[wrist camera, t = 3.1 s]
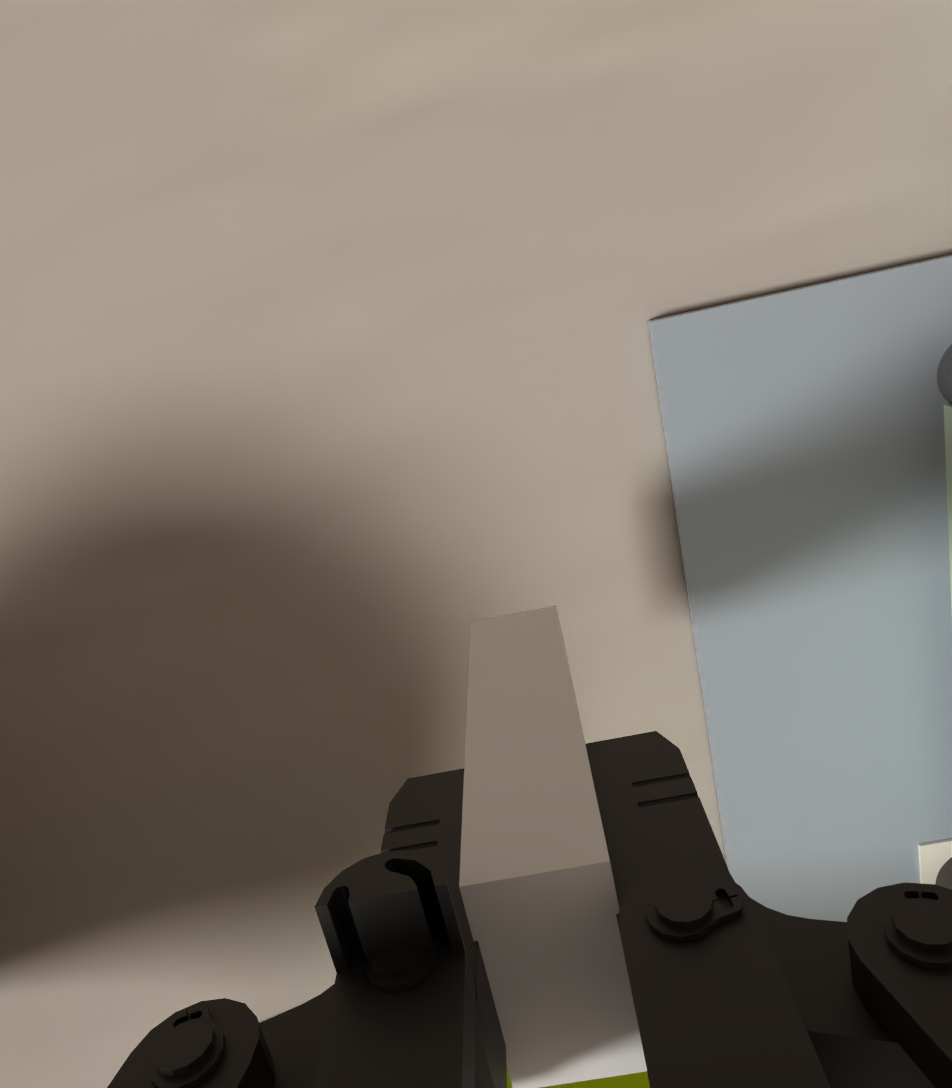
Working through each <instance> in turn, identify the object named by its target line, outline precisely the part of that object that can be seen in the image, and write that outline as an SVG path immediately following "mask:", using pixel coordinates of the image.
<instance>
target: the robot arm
mask: <svg viewBox="0 0 952 1088" xmlns="http://www.w3.org/2000/svg"><path fill="white" fill-rule="evenodd" d="M385 833H386V834H384V837H383V843H382V848H381V852H382V853H381V854H377V855H374V856H371V857H367V858H364V859H362V860H361V861H359V862H357V863H355V864H354V865H352V866H350V867H348V868H347V869H345V870H343V871H342V872H341V873H340V874H339V875H338V876H336V877H335V878H334V879H333V880H332V881H331V882H330V883H329V884H328V885H327V886H326V887H325V888H324V890H323V892H322V894H321V896H320V898H319V900H318V902H317V904H316V906H315V909H316V912H317V915H318V918H319V921H320V924H321V927H322V930H323V933H324V936H325V939H326V942H327V945H328V948H329V951H330V954H331V957H332V960H333V963H334V966H335V969H336V972H337V975H336V980H335V984H334V985H332V986H331V987H330V988H328V989H327V990H326V991H325V992H323V993H322V994H321V995H319V996H317V997H315V998H313V999H311V1000H309V1001H308V1002H306V1003H304V1004H302V1005H300V1006H297V1007H295V1008H293V1009H291V1010H288V1011H286V1012H284V1013H282V1014H279V1015H277V1016H275V1017H272V1018H270V1019H268V1020H266V1021H263V1022H261V1023H259V1022H258V1019H257V1017H256V1016H255V1014H254V1013H253V1012H252V1011H251V1010H250V1009H249V1008H248V1007H247V1006H246V1004H245V1003H241V1002H237V1001H233V1000H230V999H226V998H224V999H216V1000H209V1001H201V1002H199V1003H197V1004H194V1005H192V1006H190V1007H187V1008H185V1009H183V1010H180V1011H178V1012H175V1013H174V1014H173V1015H171V1016H170V1017H169V1018H167V1019H166V1020H164V1021H163V1022H162V1023H160V1024H159V1025H158V1026H156V1027H155V1028H153V1029H152V1030H151V1031H150V1032H149V1033H148V1034H147V1035H146V1037H145V1038H144V1039H143V1040H142V1041H141V1042H140V1043H139V1045H138V1046H137V1047H136V1048H135V1049H134V1050H133V1051H132V1052H131V1054H130V1055H129V1057H128V1058H127V1060H126V1061H125V1063H124V1064H123V1065H122V1067H121V1068H120V1070H119V1071H118V1073H117V1074H116V1076H115V1077H114V1079H113V1080H112V1082H111V1083H110V1084H109V1086H108V1087H107V1088H507V1068H508V1072H509V1076H510V1079H511V1083H512V1087H513V1088H540V1087H546V1086H553V1085H560V1084H566V1083H573V1082H580V1081H586V1080H593V1079H599V1078H606V1077H613V1076H619V1075H626V1074H632V1073H639V1072H646V1071H647V1072H648V1077H649V1082H650V1087H651V1088H952V890H951V889H948V888H945V887H942V886H939V885H935V884H921V883H907V882H904V883H899V884H894V885H889V886H884V887H879V888H876V889H875V890H873V891H871V892H870V893H868V894H866V895H865V896H863V897H861V898H860V899H858V900H857V902H856V903H855V905H854V907H853V908H852V910H851V912H850V913H849V915H848V917H847V922H840V921H829V920H818V919H808V918H802V917H797V916H791V915H786V914H783V913H781V912H778V911H775V910H772V909H769V908H767V907H765V906H763V905H762V904H760V903H758V902H757V901H755V900H753V899H752V898H750V897H749V896H748V895H747V894H746V893H745V891H744V890H743V888H742V887H741V886H740V885H738V884H736V883H735V881H734V879H733V878H732V876H731V874H730V873H729V870H728V868H727V865H726V863H725V860H724V858H723V855H722V853H721V850H720V848H719V845H718V843H717V840H716V838H715V836H714V833H713V831H712V828H711V826H710V823H709V821H708V818H707V816H706V813H705V811H704V808H703V806H702V803H701V801H700V799H699V797H698V795H697V791H696V789H695V786H694V784H693V781H692V779H691V777H690V775H689V771H688V769H687V766H686V764H685V761H684V759H683V757H682V754H681V752H680V749H679V748H678V747H676V746H675V745H674V744H672V743H671V742H670V741H669V740H667V739H666V738H665V737H663V736H662V735H661V734H659V733H658V732H657V731H654V732H648V733H643V734H637V735H632V736H626V737H621V738H615V739H610V740H604V741H599V742H593V743H588V744H585V740H584V736H583V731H582V726H581V721H580V717H579V712H578V707H577V702H576V698H575V693H574V688H573V683H572V679H571V674H570V669H569V664H568V660H567V655H566V650H565V645H564V641H563V636H562V631H561V626H560V622H559V617H558V612H557V607H556V606H552V607H546V608H541V609H536V610H531V611H526V612H521V613H516V614H510V615H505V616H500V617H495V618H490V619H485V620H480V621H474V622H470V645H469V669H468V692H467V715H466V739H465V762H464V769H459V770H453V771H448V772H442V773H437V774H431V775H426V776H420V777H415V778H409V779H407V781H406V782H405V783H404V785H403V786H402V787H401V789H400V790H399V791H398V793H397V794H396V795H395V797H394V798H393V799H392V801H391V802H390V804H389V809H388V815H387V820H386V826H385ZM506 1064H507V1068H506Z"/></svg>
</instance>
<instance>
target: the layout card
mask: <svg viewBox="0 0 952 1088" xmlns="http://www.w3.org/2000/svg"><path fill="white" fill-rule="evenodd" d="M648 326H649V333H650V340H651V347H652V354H653V361H654V367H655V374H656V381H657V388H658V395H659V402H660V409H661V415H662V422H663V429H664V436H665V443H666V450H667V457H668V463H669V470H670V477H671V484H672V491H673V498H674V505H675V512H676V518H677V525H678V532H679V539H680V546H681V553H682V560H683V566H684V573H685V580H686V587H687V594H688V601H689V608H690V614H691V621H692V628H693V635H694V642H695V649H696V656H697V662H698V669H699V676H700V683H701V690H702V697H703V704H704V710H705V717H706V724H707V731H708V738H709V745H710V752H711V759H712V765H713V772H714V779H715V786H716V793H717V800H718V807H719V813H720V820H721V827H722V834H723V841H724V848H725V855H726V861H727V868H728V870H729V873H730V874H731V876H732V878H733V879H734V881H735V883H736V884H738V885H740V886H741V887H742V888H743V890H744V891H745V893H746V894H747V895H748V896H749V897H750V898H752V899H753V900H755V901H757V902H758V903H760V904H762V905H763V906H765V907H767V908H769V909H772V910H775V911H778V912H781V913H783V914H786V915H791V916H797V917H802V918H808V919H818V920H829V921H840V922H847V917H848V915H849V913H850V912H851V910H852V908H853V907H854V905H855V903H856V902H857V900H858V899H860V898H861V897H863V896H865V895H866V894H868V893H870V892H871V891H873V890H875V889H876V888H879V887H884V886H889V885H894V884H899V883H904V882H907V883H921V884H935V885H936V878H937V875H938V872H939V871H940V869H941V867H942V866H943V865H944V864H945V863H946V862H947V861H948V860H949V859H950V858H951V857H952V611H951V585H950V559H949V534H948V508H947V483H946V457H945V431H944V406H943V404H947V403H949V402H948V401H947V400H945V398H944V397H943V396H942V394H941V393H940V390H939V388H938V384H937V370H938V366H939V362H940V360H941V358H942V356H943V354H944V353H945V351H946V350H947V349H948V347H949V346H950V345H951V344H952V254H951V255H947V256H942V257H937V258H933V259H928V260H924V261H919V262H915V263H910V264H905V265H901V266H896V267H892V268H887V269H882V270H878V271H873V272H869V273H864V274H860V275H855V276H850V277H846V278H841V279H837V280H832V281H827V282H823V283H818V284H814V285H809V286H804V287H800V288H795V289H791V290H786V291H782V292H777V293H772V294H768V295H763V296H759V297H754V298H749V299H745V300H740V301H736V302H731V303H726V304H722V305H717V306H713V307H708V308H704V309H699V310H694V311H690V312H685V313H681V314H676V315H671V316H667V317H662V318H658V319H653V320H648Z"/></svg>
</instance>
